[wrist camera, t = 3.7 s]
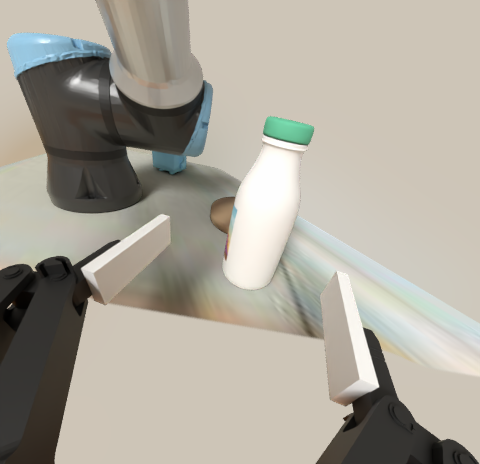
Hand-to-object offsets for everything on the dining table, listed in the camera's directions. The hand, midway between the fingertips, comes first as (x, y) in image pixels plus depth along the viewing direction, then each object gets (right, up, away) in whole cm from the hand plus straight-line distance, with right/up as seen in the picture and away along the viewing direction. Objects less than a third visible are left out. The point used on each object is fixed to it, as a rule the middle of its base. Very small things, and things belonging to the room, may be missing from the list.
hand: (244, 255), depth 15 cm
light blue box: (-23, +21, +43) cm, 53 cm away
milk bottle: (+1, -4, +14) cm, 15 cm away
